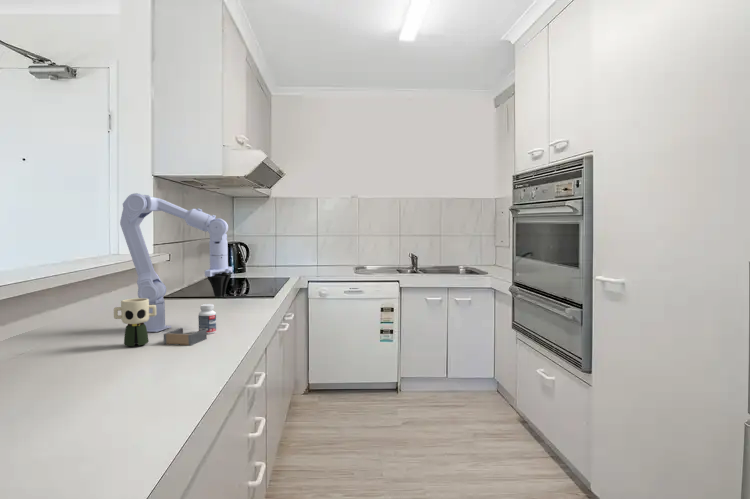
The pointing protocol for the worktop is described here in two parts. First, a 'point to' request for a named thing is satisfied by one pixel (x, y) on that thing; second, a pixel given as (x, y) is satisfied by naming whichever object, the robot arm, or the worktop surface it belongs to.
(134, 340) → the character mug
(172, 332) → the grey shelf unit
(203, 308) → the pill bottle
